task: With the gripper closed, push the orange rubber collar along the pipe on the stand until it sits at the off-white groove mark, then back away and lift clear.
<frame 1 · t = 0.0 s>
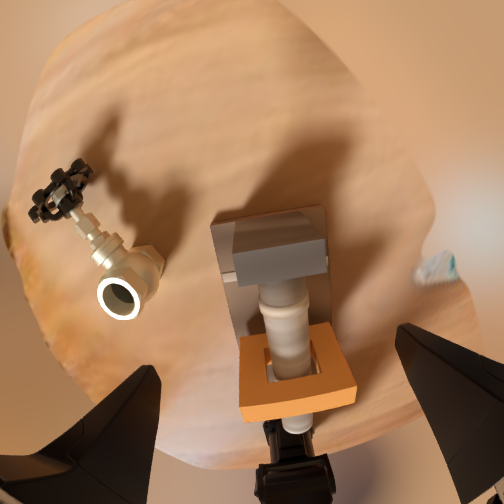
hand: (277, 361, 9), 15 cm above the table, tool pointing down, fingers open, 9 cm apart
valve: (118, 229, 22), on the table
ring: (292, 369, 20), point 6 cm above the table, slide at 0.0 cm
pipe stand: (282, 317, 26), on the table
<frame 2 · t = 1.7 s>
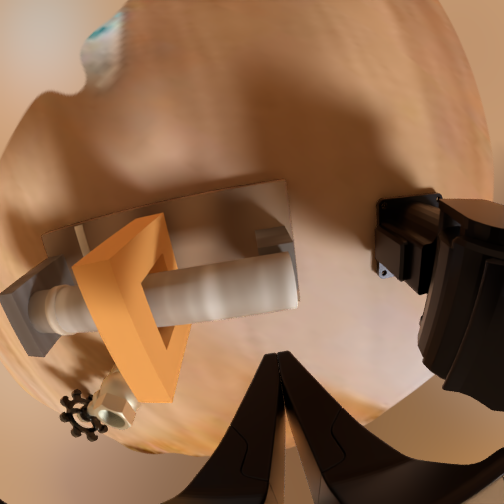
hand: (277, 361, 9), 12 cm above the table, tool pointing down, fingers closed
valve: (113, 381, 25), on the table
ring: (147, 301, 15), point 6 cm above the table, slide at 0.0 cm
pipe stand: (159, 262, 20), on the table
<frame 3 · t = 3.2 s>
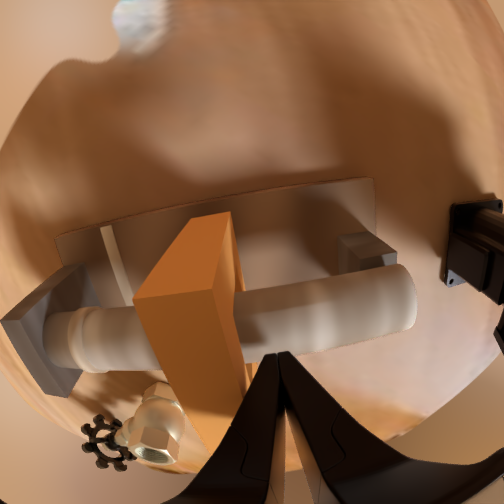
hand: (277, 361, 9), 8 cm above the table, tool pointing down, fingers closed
valve: (143, 406, 22), on the table
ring: (220, 330, 11), point 6 cm above the table, slide at 0.0 cm, touching gripper
pipe stand: (212, 273, 17), on the table
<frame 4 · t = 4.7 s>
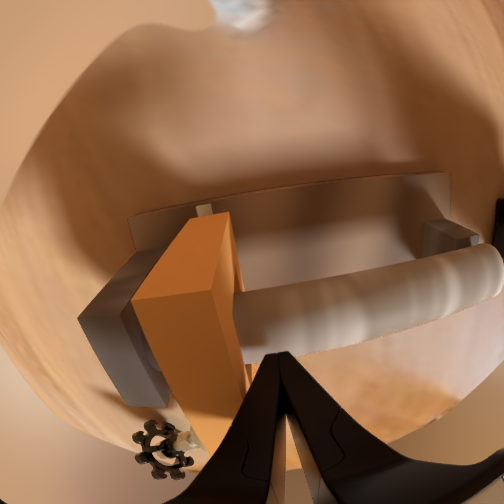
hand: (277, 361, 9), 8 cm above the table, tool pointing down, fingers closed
valve: (205, 405, 22), on the table
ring: (219, 331, 11), point 6 cm above the table, slide at 6.1 cm, touching gripper
pipe stand: (311, 258, 17), on the table
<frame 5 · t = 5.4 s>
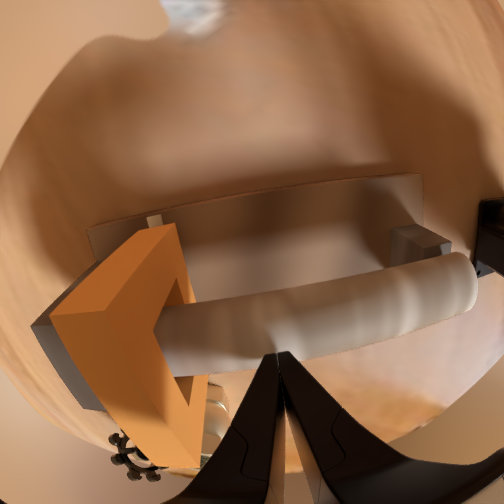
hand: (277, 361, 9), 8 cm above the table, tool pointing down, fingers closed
valve: (178, 410, 21), on the table
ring: (159, 342, 11), point 6 cm above the table, slide at 6.2 cm
pipe stand: (267, 267, 16), on the table
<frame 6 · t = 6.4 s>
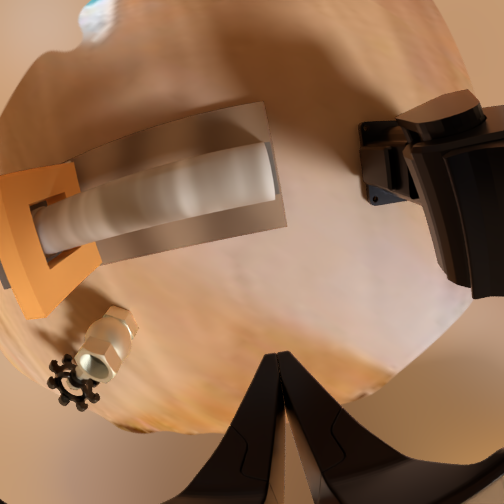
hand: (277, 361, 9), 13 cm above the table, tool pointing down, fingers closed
valve: (104, 340, 24), on the table
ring: (46, 231, 14), point 6 cm above the table, slide at 6.2 cm
pipe stand: (142, 193, 19), on the table
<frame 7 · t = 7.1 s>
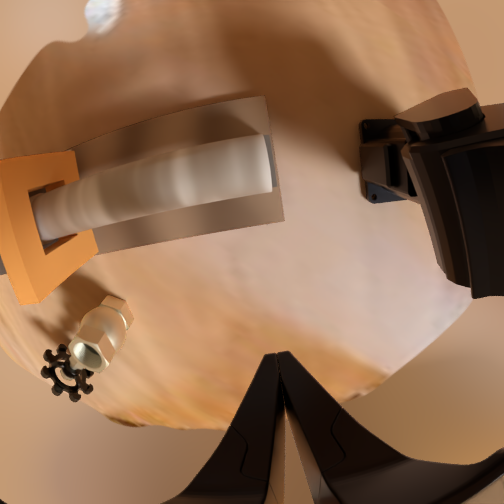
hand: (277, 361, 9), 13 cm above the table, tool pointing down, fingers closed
valve: (99, 330, 24), on the table
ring: (44, 218, 14), point 6 cm above the table, slide at 6.2 cm
pipe stand: (141, 184, 19), on the table
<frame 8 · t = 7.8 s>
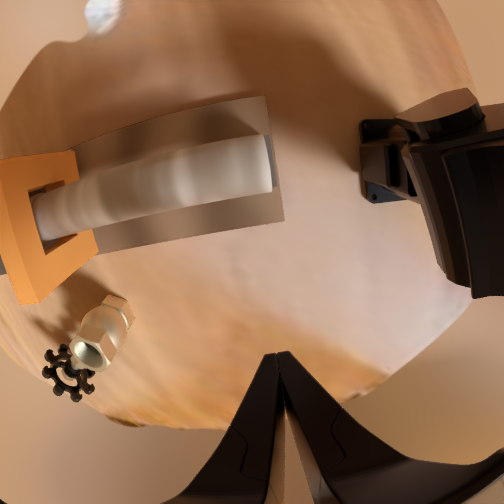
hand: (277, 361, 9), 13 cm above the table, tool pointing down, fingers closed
valve: (100, 330, 24), on the table
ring: (44, 217, 14), point 6 cm above the table, slide at 6.2 cm
pipe stand: (141, 184, 19), on the table
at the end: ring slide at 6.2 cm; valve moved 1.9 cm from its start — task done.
